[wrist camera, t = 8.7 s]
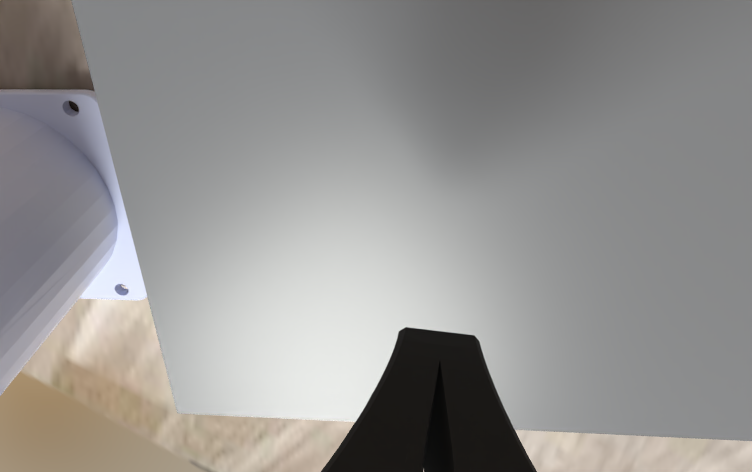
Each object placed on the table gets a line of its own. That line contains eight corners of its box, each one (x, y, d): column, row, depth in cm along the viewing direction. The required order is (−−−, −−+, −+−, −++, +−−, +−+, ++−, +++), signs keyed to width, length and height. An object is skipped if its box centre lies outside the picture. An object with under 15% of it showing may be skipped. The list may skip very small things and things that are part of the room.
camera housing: (233, 294, 24) (177, 413, 19) (172, -58, 18) (66, -21, 13) (786, 311, 23) (886, 447, 17) (929, -72, 16) (1152, -36, 11)
